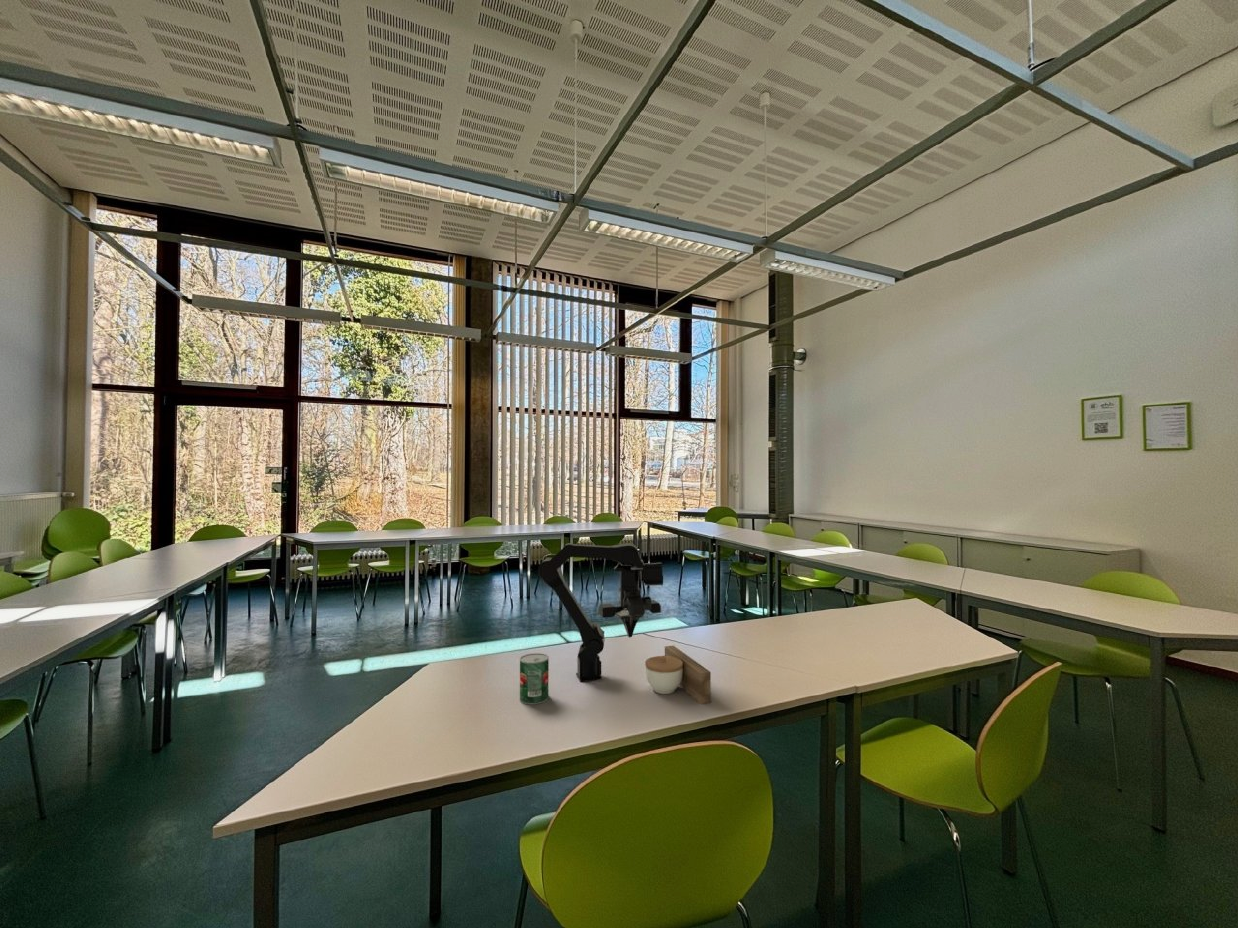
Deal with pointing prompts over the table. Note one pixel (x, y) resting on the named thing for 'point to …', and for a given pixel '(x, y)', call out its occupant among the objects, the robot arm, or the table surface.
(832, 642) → the table surface
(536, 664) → the canned tomato
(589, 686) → the table surface
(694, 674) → the walnut board
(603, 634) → the robot arm
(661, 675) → the lidded jar
